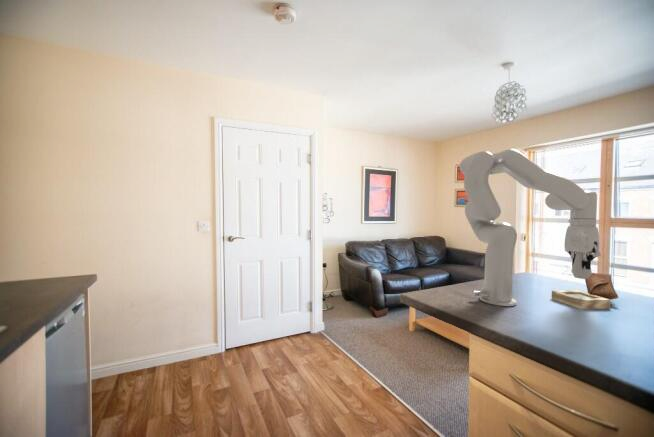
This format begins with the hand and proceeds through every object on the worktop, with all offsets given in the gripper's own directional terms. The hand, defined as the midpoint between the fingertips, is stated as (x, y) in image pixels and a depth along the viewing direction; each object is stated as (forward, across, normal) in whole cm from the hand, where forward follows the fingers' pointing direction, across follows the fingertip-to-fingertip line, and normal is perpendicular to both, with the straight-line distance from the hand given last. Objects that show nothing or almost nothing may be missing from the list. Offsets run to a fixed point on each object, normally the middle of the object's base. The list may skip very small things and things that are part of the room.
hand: (581, 269), depth 109 cm
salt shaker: (+3, 0, 0) cm, 3 cm away
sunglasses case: (+9, -4, +14) cm, 17 cm away
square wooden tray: (+13, 0, 0) cm, 13 cm away
